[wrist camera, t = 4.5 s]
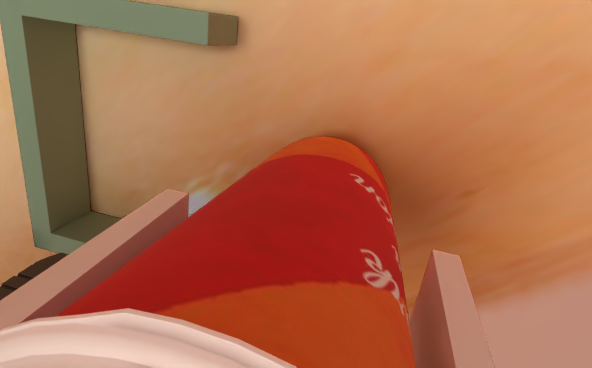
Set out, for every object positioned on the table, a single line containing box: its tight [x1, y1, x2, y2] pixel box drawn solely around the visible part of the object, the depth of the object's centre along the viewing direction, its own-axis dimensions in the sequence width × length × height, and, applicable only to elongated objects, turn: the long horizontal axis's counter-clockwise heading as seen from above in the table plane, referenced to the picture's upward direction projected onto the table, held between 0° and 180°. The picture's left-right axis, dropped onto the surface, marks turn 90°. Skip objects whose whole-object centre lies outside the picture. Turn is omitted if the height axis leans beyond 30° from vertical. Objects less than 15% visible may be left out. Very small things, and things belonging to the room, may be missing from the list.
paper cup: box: [0, 136, 416, 368], centre depth 10 cm, size 8×8×14 cm
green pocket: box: [0, 0, 238, 254], centre depth 19 cm, size 10×13×3 cm
